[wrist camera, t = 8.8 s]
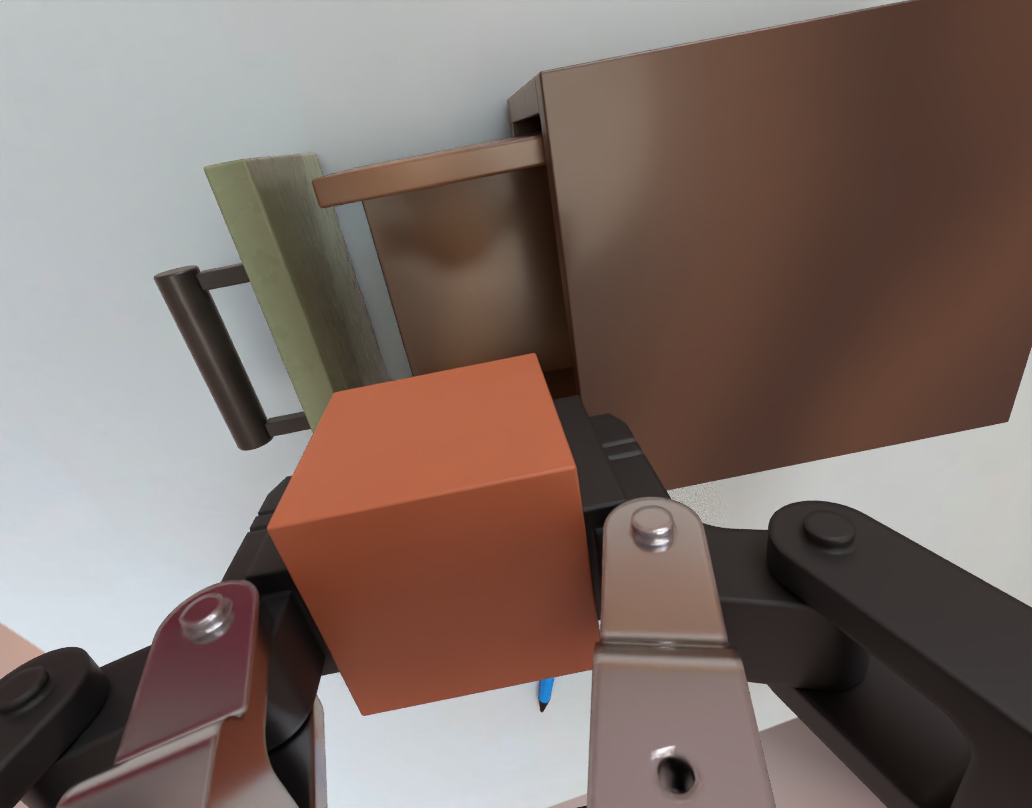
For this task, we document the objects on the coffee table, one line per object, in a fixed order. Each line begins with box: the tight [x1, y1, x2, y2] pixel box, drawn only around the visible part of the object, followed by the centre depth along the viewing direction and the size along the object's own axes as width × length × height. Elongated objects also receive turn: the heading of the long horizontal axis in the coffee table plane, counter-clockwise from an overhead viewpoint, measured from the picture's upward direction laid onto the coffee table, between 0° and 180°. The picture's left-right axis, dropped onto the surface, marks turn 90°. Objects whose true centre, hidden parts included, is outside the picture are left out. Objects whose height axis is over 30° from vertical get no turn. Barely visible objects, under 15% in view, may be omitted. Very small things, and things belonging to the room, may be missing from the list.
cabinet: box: [507, 0, 1032, 490], centre depth 20 cm, size 16×14×10 cm
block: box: [267, 353, 600, 716], centre depth 9 cm, size 4×4×4 cm
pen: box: [538, 677, 554, 713], centre depth 35 cm, size 1×19×1 cm, turn 175°
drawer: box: [154, 131, 577, 450], centre depth 20 cm, size 19×13×8 cm
